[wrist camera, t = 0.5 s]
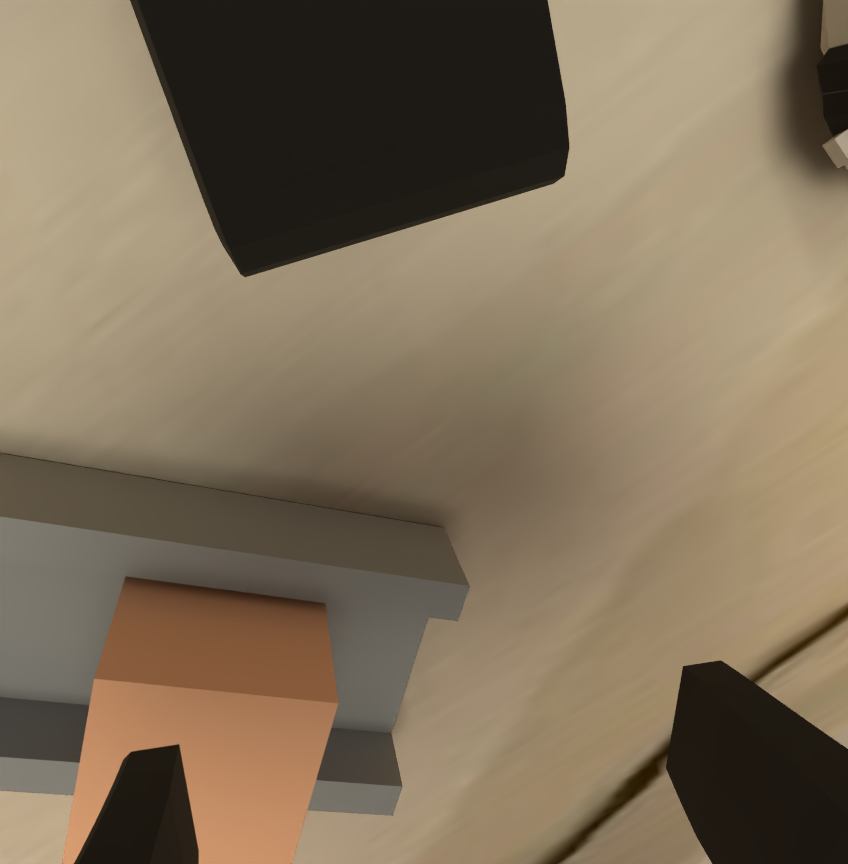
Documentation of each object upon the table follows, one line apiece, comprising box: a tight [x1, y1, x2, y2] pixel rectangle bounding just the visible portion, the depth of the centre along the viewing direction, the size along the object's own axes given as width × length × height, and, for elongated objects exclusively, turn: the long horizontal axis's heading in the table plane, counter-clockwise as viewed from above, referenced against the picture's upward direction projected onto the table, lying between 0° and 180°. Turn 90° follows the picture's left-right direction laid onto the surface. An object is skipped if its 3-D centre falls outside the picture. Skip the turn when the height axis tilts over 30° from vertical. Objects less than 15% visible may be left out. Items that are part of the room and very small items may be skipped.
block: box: [62, 576, 338, 864], centre depth 18 cm, size 5×5×5 cm
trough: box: [0, 453, 469, 816], centre depth 18 cm, size 20×7×5 cm, turn 74°
